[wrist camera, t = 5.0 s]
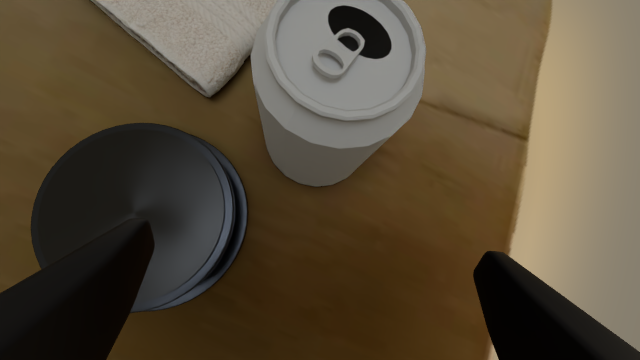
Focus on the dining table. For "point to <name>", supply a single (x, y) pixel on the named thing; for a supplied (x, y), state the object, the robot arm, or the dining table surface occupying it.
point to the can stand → (147, 206)
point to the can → (335, 82)
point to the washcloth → (194, 34)
